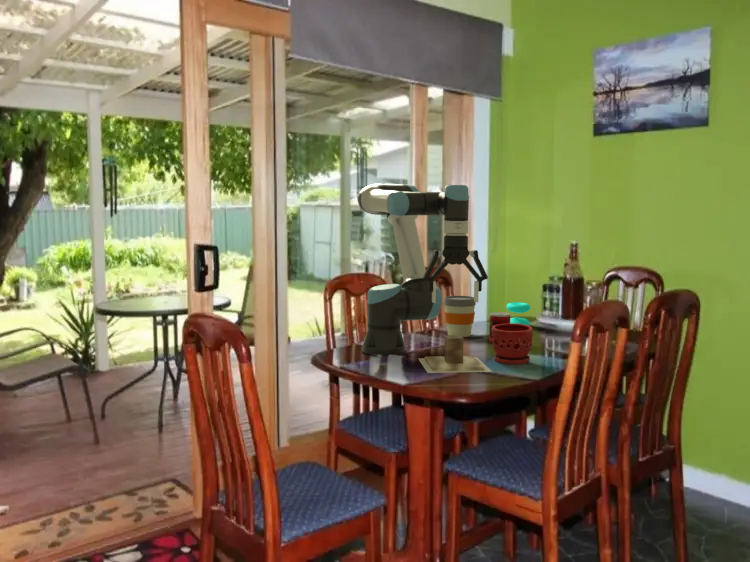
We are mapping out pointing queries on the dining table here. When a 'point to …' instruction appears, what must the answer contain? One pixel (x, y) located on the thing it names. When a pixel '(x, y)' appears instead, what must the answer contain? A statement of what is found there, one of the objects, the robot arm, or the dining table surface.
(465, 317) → the reusable coffee cup
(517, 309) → the donuts
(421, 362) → the mat
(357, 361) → the dining table surface
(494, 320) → the canned food
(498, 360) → the plant pot
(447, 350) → the lid
